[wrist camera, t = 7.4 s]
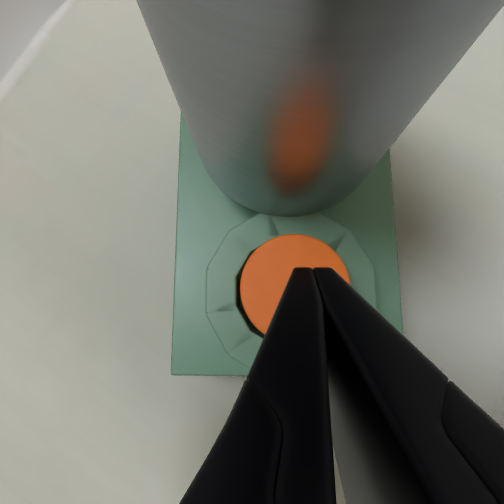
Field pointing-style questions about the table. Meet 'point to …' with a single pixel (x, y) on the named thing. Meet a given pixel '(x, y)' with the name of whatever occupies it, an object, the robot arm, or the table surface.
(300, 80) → the kettle
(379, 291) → the kettle base
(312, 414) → the robot arm
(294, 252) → the button
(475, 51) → the table surface
